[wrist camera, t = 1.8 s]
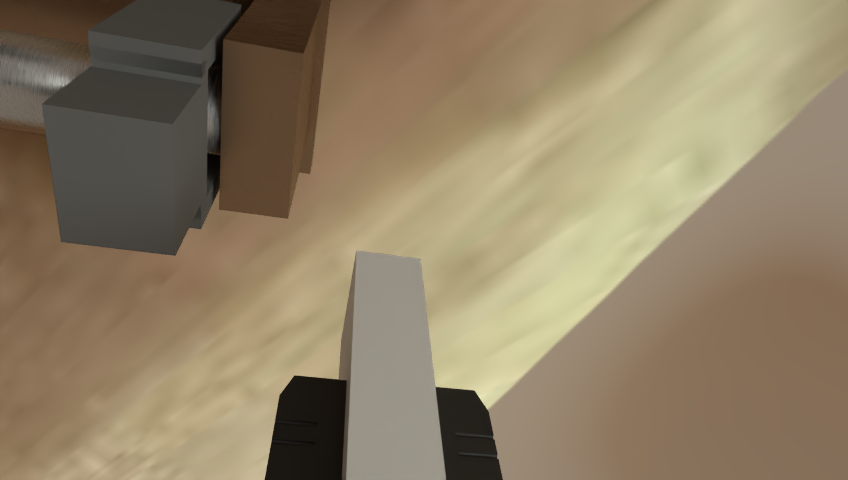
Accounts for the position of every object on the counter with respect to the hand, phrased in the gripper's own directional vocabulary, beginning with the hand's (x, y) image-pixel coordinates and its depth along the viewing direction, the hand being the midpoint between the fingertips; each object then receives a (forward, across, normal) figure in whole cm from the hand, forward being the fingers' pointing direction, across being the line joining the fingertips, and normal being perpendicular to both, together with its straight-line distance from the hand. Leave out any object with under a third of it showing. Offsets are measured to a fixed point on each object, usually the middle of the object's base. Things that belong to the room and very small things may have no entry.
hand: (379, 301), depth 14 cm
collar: (+12, -7, 0) cm, 14 cm away
